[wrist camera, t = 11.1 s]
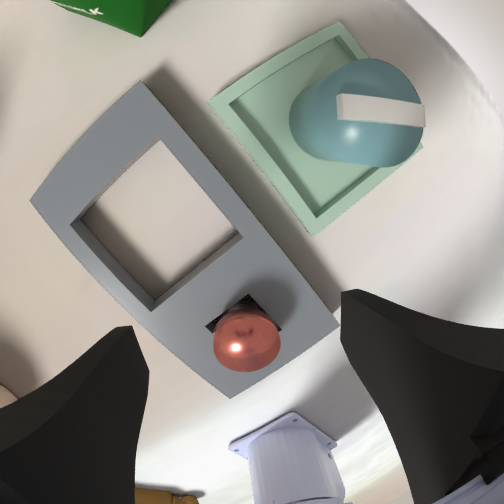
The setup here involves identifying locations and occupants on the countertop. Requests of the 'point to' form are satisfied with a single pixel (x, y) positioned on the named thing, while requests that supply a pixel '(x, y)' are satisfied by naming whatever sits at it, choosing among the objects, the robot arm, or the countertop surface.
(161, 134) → the housing
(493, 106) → the countertop surface
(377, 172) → the tray
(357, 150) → the rotary knob
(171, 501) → the tap handle
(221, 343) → the plunger
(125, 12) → the milk carton
